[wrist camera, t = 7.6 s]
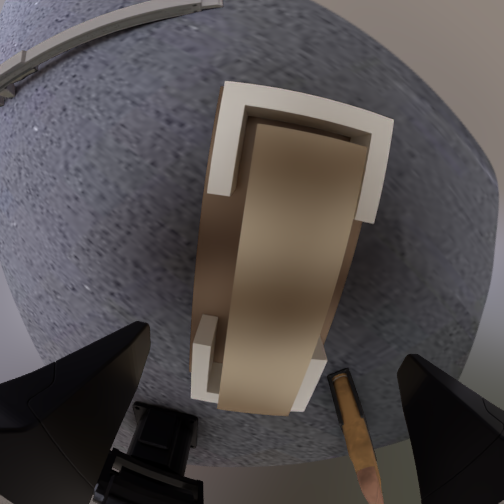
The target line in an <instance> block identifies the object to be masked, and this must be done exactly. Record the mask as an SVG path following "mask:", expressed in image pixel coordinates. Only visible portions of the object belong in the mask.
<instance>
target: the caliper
mask: <svg viewBox="0 0 504 504" xmlns="http://www.w3.org/2000/svg"><path fill="white" fill-rule="evenodd" d="M220 7H223V0H152V1H148V2H144V3H140V4H136V5H132V6H129V7H125V8H122V9H119V10H116V11H113V12H110V13H107V14H104V15H101V16H99V17H96V18H93V19H91V20H88V21H86V22H83V23H81V24H79V25H76V26H74V27H72V28H70V29H67V30H65V31H63V32H61V33H59V34H57V35H55V36H53V37H51V38H49V39H47V40H45V41H43V42H42V43H40V44H38V45H36V46H35V47H33V48H31V49H29V50H28V51H23V50H22V51H21V52H19V53H17V54H16V55H14V56H13V57H11V58H10V59H8V60H7V61H5V62H4V63H2V64H1V65H0V107H1V106H3V105H4V97H6V98H11V99H12V98H13V97H15V85H14V84H13V83H15V82H18V81H20V80H22V79H24V78H25V77H27V76H28V75H30V74H32V73H35V72H37V71H38V65H40V64H41V63H43V62H45V61H47V60H49V59H51V58H53V57H55V56H57V55H59V54H61V53H63V52H65V51H68V50H70V49H72V48H74V47H77V46H79V45H81V44H84V43H86V42H89V41H91V40H94V39H97V38H99V37H102V36H105V35H108V34H111V33H114V32H117V31H120V30H123V29H127V28H130V27H134V26H138V25H141V24H145V23H150V22H154V21H158V20H163V19H168V18H173V17H178V16H182V15H186V14H190V13H194V12H199V11H202V9H210V8H220Z"/></svg>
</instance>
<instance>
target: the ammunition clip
mask: <svg viewBox="0 0 504 504" xmlns="http://www.w3.org/2000/svg"><path fill="white" fill-rule="evenodd" d="M327 378H328V381H329V385H330V389H331V393H332V397H333V401H334V405H335V409H336V413H337V417H338V421H339V425H340V427H341V429H342V431H343V434H344V436H345V440H346V444H347V449H348V453H349V456H350V458H351V460H352V462H353V464H354V467H355V471H356V474H357V477H358V481H359V484H360V487H361V490H362V492H363V494H364V496H365V498H366V500H367V501H368V503H369V504H384V501H383V496H382V489H381V479H380V475H379V471H378V466H377V463H376V461H377V459H376V455H375V451H374V447H373V444H372V440H371V436H370V432H369V429H368V425H367V422H366V418H365V415H364V412H363V409H362V406H361V403H360V400H359V397H358V394H357V391H356V388H355V385H354V382H353V380H352V377H351V374H350V371H349V369H348V368H347V369H345V370H342V371H340V372H337V373H334V374H332V375H329V376H328V377H327Z"/></svg>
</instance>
